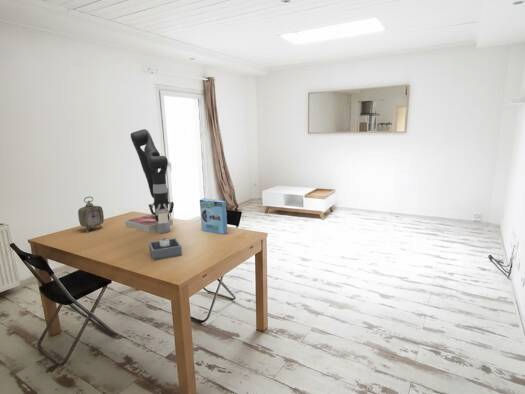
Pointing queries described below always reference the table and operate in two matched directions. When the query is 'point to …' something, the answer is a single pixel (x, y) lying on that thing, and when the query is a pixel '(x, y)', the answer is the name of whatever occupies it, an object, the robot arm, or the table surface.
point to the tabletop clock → (90, 215)
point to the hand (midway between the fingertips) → (162, 220)
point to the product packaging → (144, 223)
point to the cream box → (162, 217)
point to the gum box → (213, 215)
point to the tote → (165, 249)
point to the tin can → (164, 243)
